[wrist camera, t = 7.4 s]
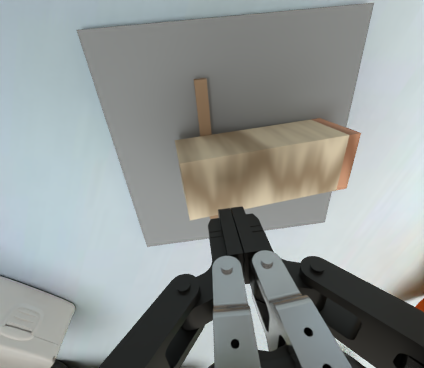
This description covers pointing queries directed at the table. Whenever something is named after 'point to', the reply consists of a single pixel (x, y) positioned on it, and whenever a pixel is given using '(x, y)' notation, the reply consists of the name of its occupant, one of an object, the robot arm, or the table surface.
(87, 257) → the table surface
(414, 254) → the table surface
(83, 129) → the table surface
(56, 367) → the toy truck
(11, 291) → the power drill
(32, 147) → the table surface
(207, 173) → the birch block
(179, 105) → the mat
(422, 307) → the sculpture
